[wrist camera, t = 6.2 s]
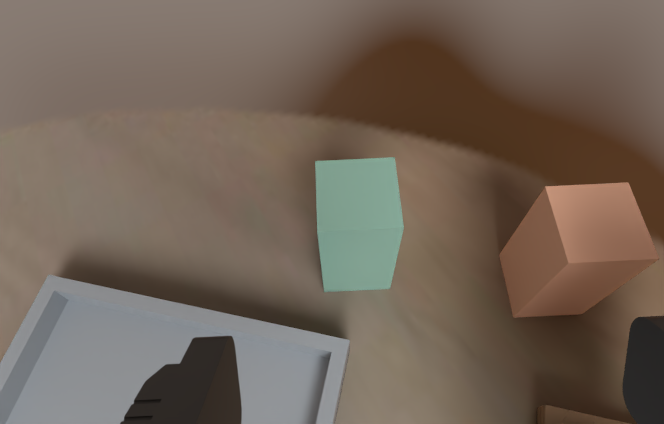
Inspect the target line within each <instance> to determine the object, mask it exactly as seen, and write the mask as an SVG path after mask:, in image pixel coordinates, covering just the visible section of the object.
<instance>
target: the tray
mask: <svg viewBox="0 0 664 424" xmlns="http://www.w3.org/2000/svg"><path fill="white" fill-rule="evenodd" d="M213 336H232V337H233V340H234V344H235V350H236V359H237V368H238V377H239V386H240V395H241V405H242V421H241V424H335V419H336V415H337V410H338V405H339V400H340V395H341V390H342V385H343V380H344V375H345V370H346V365H347V360H348V356H349V349H350V340H347V339H342V338H338V337H333V336H328V335H324V334H319V333H315V332H310V331H305V330H301V329H296V328H292V327H287V326H282V325H278V324H273V323H269V322H264V321H259V320H255V319H250V318H246V317H241V316H236V315H232V314H227V313H223V312H218V311H213V310H209V309H204V308H200V307H195V306H190V305H186V304H181V303H177V302H172V301H167V300H163V299H158V298H154V297H149V296H144V295H140V294H135V293H131V292H126V291H121V290H117V289H112V288H108V287H103V286H98V285H94V284H89V283H84V282H80V281H75V280H71V279H66V278H61V277H57V276H52V275H48V277H47V278H46V280H45V282H44V284H43V286H42V288H41V289H40V291H39V293H38V295H37V297H36V299H35V300H34V302H33V304H32V306H31V308H30V310H29V311H28V313H27V315H26V317H25V319H24V321H23V322H22V324H21V326H20V328H19V330H18V332H17V333H16V335H15V337H14V339H13V341H12V343H11V344H10V346H9V348H8V350H7V352H6V354H5V355H4V357H3V359H2V361H1V363H0V424H120V423H121V421H124V416H125V414H126V413H127V411H128V409H129V408H130V406H131V404H134V399H135V398H136V396H137V394H138V393H139V391H140V389H141V388H142V386H143V384H144V383H145V381H146V380H147V379H149V378H150V377H151V376H152V375H153V374H155V373H156V372H157V371H158V370H159V369H161V368H162V367H163V366H164V365H166V364H180V362H181V360H182V358H183V356H184V354H185V352H186V351H187V349H188V347H189V345H190V343H191V341H192V339H193V338H195V337H213Z"/></svg>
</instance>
